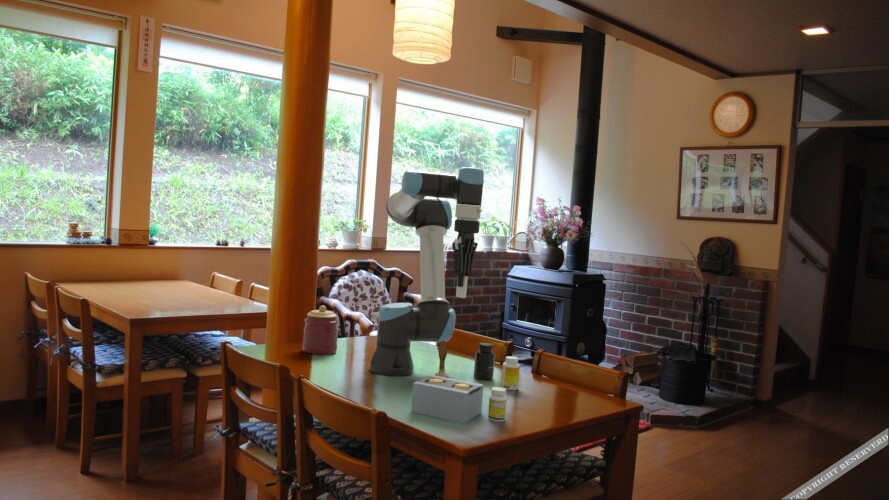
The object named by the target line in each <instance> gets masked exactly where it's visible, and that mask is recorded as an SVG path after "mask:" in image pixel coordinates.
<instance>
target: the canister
mask: <svg viewBox="0 0 889 500" xmlns="http://www.w3.org/2000/svg"><path fill="white" fill-rule="evenodd" d="M306 316H307V317H306V318H305V319H304V320H303V321H304V322H305V325H304V328H303V341H302V351H303V352H304V351H305V352H304V353H306V352H308V353H307V354H309V353H312V354H311V355H317V354H322V355H323V356H325V354H328V355H333V353H334V354H336V353H337V351H338V336H339V329H338V324H339V323H340V321H339V320H338V319H337V317H338V314H337V313H335V311H332V310H327V307H326V306H325V305H320V306H319V307H318V309H313V310H311V311H309V312H308V313H307V314H306Z"/></svg>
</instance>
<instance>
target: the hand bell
mask: <svg viewBox="0 0 889 500" xmlns="http://www.w3.org/2000/svg"><path fill="white" fill-rule="evenodd" d="M446 342H447V341H446ZM446 342H445V341H444V340H442V341H441V342H440V344H439V347H438V358H439V366H438V367H439V368H438V372H436V373H434V375H435V376H440V377H446V378H450V377H449V374H448V373H447V372H445V371H446V370H445V368H446V367H445V366H446V365H445V363H446V358H447V353H448V347H447V343H446Z"/></svg>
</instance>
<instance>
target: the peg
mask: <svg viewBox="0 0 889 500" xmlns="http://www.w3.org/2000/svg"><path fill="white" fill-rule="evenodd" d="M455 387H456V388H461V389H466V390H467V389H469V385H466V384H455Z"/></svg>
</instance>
